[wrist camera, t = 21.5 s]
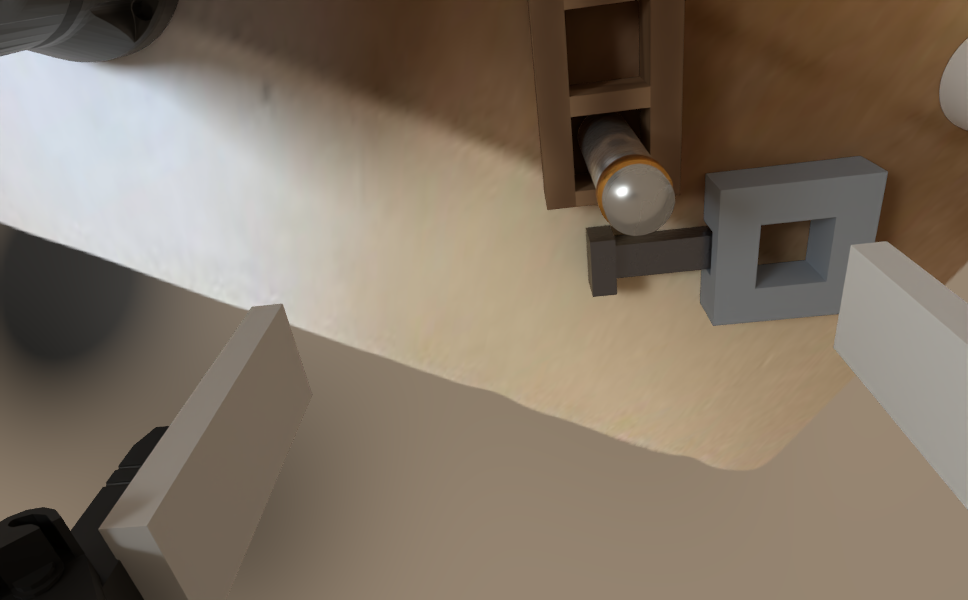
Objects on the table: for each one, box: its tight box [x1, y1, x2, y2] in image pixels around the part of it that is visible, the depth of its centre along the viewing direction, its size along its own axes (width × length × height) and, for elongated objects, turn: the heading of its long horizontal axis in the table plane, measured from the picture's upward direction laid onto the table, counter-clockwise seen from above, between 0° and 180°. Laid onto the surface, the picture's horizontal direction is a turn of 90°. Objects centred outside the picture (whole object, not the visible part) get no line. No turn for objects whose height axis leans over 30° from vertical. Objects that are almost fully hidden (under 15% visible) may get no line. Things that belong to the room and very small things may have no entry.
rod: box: [578, 112, 675, 236], centre depth 43 cm, size 4×4×15 cm
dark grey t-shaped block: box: [586, 225, 713, 297], centre depth 52 cm, size 10×5×3 cm, turn 97°
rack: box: [528, 0, 685, 210], centre depth 46 cm, size 10×15×4 cm, turn 7°
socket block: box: [700, 156, 888, 326], centre depth 51 cm, size 12×12×4 cm
